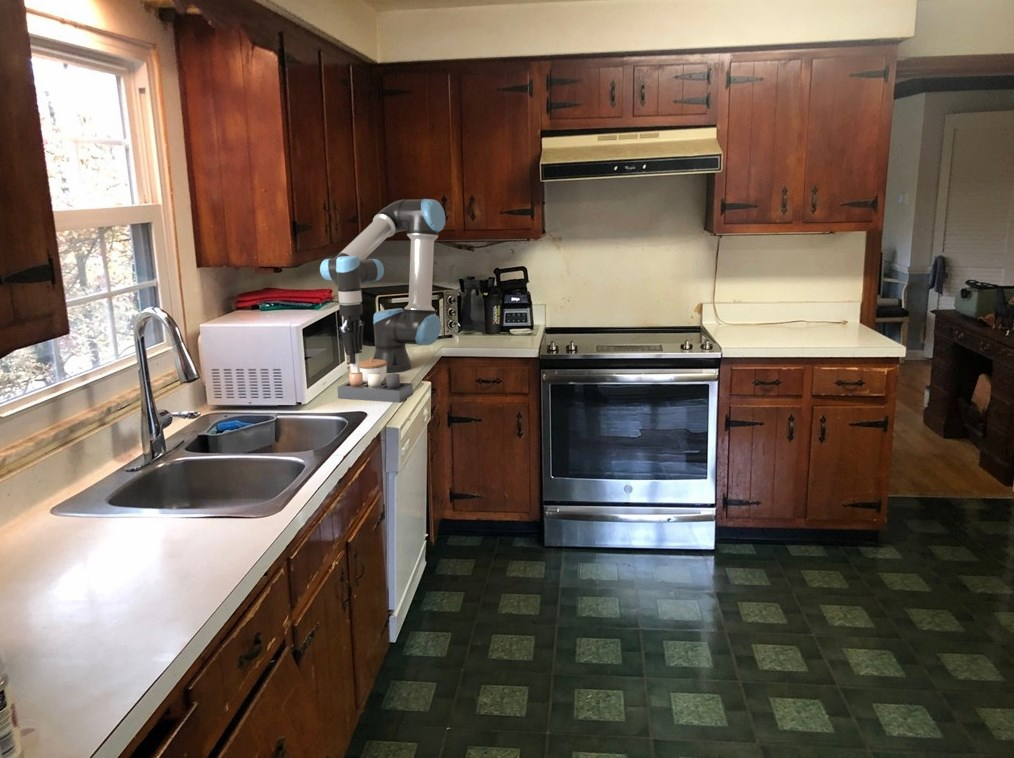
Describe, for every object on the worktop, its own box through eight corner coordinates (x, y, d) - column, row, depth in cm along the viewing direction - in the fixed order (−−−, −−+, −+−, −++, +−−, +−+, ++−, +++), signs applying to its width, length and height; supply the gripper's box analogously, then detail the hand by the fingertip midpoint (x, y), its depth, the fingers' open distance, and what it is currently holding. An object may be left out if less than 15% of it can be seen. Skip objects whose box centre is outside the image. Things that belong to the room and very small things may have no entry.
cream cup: (372, 386, 270) (371, 372, 269) (383, 387, 269) (383, 373, 267) (366, 389, 266) (365, 375, 265) (377, 390, 265) (376, 376, 263)
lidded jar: (361, 388, 280) (359, 362, 278) (355, 381, 290) (353, 356, 287) (391, 384, 284) (389, 359, 282) (384, 378, 294) (382, 353, 291)
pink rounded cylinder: (354, 385, 272) (353, 371, 271) (365, 386, 271) (364, 372, 270) (347, 388, 268) (346, 374, 267) (359, 389, 267) (358, 375, 266)
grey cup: (390, 387, 268) (389, 373, 267) (402, 388, 266) (401, 374, 265) (384, 390, 264) (383, 376, 263) (396, 391, 262) (395, 377, 261)
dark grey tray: (352, 391, 276) (352, 379, 275) (412, 394, 269) (412, 383, 268) (338, 398, 267) (337, 386, 266) (399, 402, 260) (399, 390, 259)
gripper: (350, 300, 270) (355, 367, 275) (330, 305, 258) (335, 376, 263) (369, 300, 268) (374, 368, 273) (350, 306, 256) (355, 377, 261)
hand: (355, 372), depth 268 cm, fingers closed
